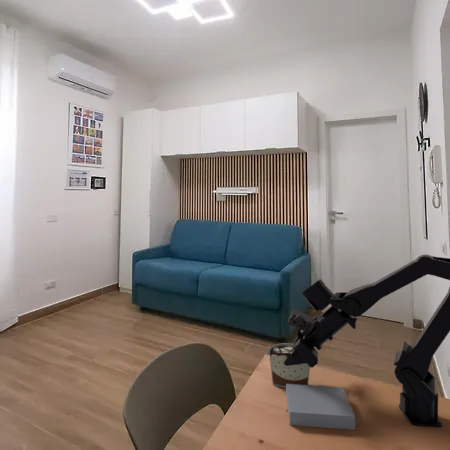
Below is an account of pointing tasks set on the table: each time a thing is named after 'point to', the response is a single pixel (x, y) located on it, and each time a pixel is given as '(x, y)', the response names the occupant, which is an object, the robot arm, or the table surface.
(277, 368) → the food container
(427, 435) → the table surface
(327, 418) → the base block
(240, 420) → the table surface
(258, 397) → the table surface
